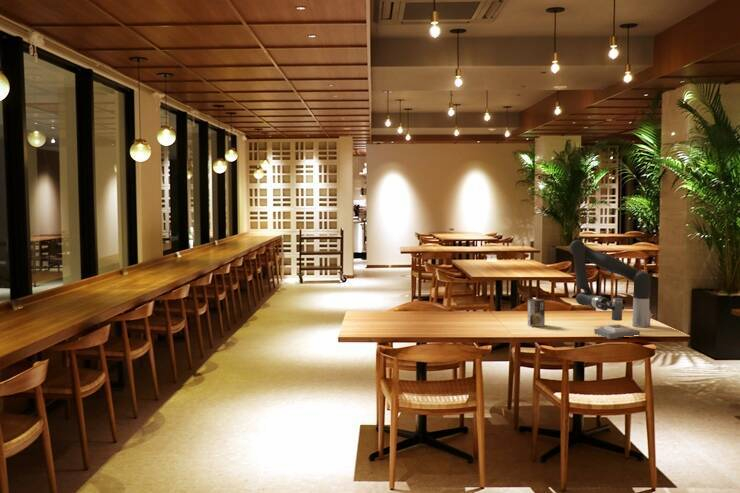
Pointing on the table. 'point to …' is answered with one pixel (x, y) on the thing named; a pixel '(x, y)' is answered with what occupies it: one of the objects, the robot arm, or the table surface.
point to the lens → (617, 309)
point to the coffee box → (536, 312)
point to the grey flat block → (615, 331)
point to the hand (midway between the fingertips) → (618, 308)
